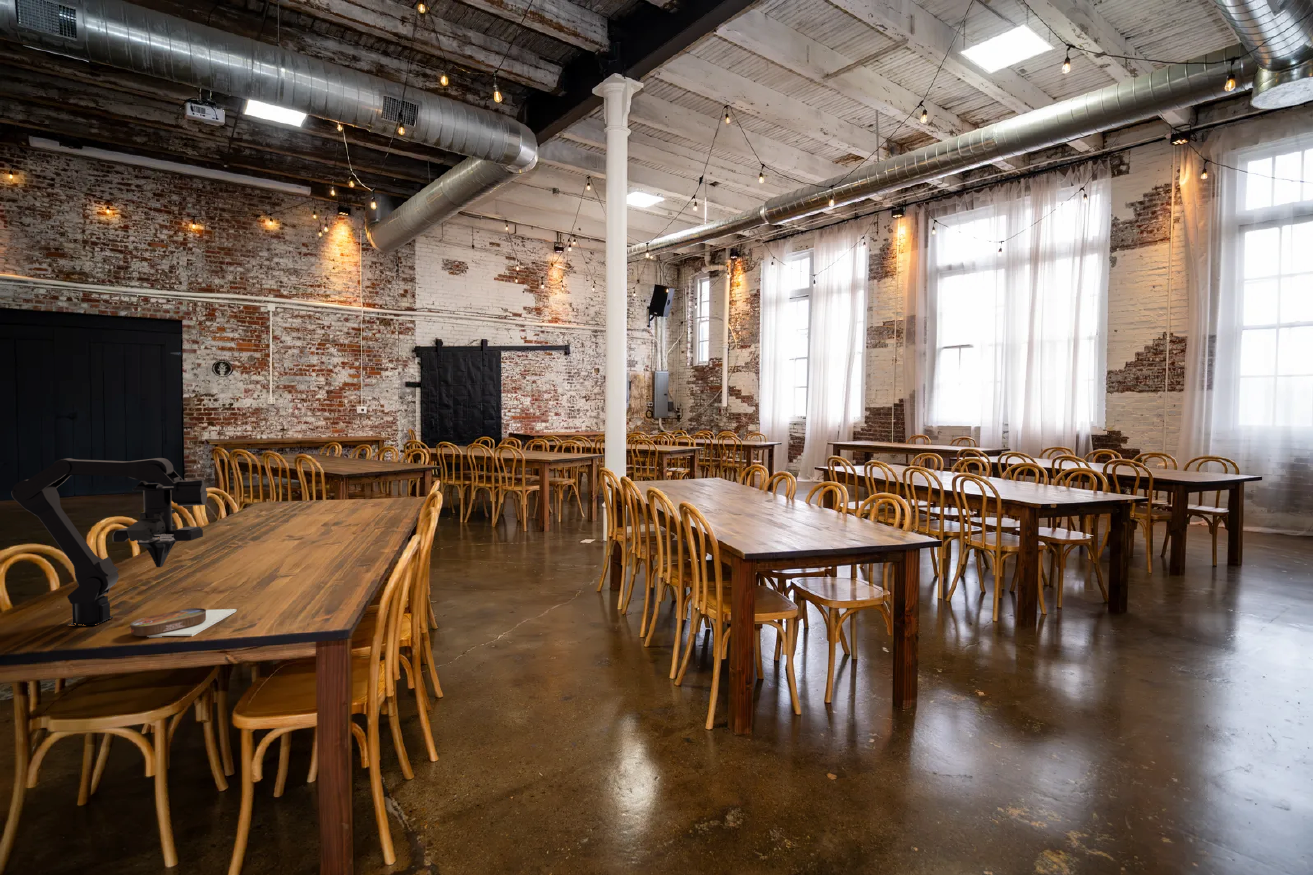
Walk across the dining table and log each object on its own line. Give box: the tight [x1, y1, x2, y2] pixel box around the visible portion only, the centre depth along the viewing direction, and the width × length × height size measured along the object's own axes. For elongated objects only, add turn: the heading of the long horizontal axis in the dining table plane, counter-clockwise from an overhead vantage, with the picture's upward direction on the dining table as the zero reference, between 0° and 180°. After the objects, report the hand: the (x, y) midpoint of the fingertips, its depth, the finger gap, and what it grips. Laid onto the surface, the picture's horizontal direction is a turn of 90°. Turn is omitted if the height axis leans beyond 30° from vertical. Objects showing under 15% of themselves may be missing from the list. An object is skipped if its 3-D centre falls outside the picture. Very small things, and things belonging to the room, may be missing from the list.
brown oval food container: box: [129, 607, 207, 637], centre depth 158 cm, size 15×3×8 cm
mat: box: [146, 608, 237, 638], centre depth 163 cm, size 10×19×1 cm, turn 5°
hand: (159, 567), depth 167 cm, fingers closed
